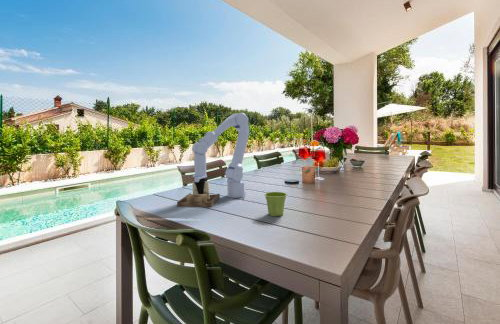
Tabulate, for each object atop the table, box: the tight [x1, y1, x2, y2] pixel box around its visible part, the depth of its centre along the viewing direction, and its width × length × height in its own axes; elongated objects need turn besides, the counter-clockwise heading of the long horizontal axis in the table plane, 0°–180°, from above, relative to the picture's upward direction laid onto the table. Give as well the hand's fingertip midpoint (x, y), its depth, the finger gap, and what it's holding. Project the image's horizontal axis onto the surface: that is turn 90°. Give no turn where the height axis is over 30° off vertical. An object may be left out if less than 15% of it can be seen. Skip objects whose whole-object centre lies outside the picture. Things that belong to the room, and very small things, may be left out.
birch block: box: [192, 181, 211, 199], centre depth 140 cm, size 8×2×9 cm, turn 84°
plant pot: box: [264, 191, 288, 217], centre depth 118 cm, size 9×9×9 cm
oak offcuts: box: [187, 193, 207, 203], centre depth 132 cm, size 9×3×4 cm, turn 84°
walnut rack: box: [176, 192, 221, 208], centre depth 137 cm, size 16×18×3 cm
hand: (201, 193), depth 140 cm, fingers closed on birch block, 1 cm apart
